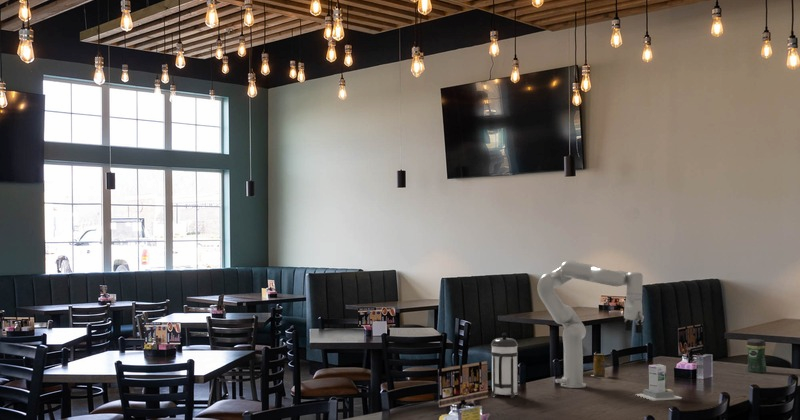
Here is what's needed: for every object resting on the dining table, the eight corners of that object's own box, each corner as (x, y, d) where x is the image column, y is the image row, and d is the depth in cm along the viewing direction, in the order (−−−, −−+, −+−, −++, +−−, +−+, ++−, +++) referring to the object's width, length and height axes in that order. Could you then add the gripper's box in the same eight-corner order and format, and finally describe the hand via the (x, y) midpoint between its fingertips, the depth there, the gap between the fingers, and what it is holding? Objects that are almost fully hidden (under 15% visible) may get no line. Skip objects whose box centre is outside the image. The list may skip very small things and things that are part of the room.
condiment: (602, 375, 453) (602, 353, 453) (609, 377, 444) (609, 355, 445) (590, 375, 451) (589, 353, 452) (597, 378, 443) (596, 355, 443)
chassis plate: (652, 400, 379) (652, 394, 379) (635, 395, 392) (635, 388, 392) (682, 398, 384) (682, 392, 384) (664, 393, 397) (663, 387, 397)
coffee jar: (768, 372, 462) (768, 339, 462) (761, 373, 457) (761, 340, 457) (752, 370, 469) (751, 337, 470) (745, 371, 464) (744, 338, 465)
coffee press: (481, 394, 394) (481, 332, 395) (510, 392, 401) (509, 330, 402) (499, 400, 378) (499, 335, 380) (529, 398, 385) (528, 334, 386)
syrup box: (657, 397, 384) (657, 366, 385) (648, 395, 390) (648, 364, 390) (666, 396, 387) (666, 365, 388) (657, 394, 392) (657, 363, 393)
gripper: (618, 295, 413) (617, 329, 413) (636, 298, 397) (635, 334, 396) (631, 295, 415) (630, 329, 415) (650, 298, 399) (649, 334, 398)
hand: (633, 331), depth 406 cm, fingers open, 9 cm apart
